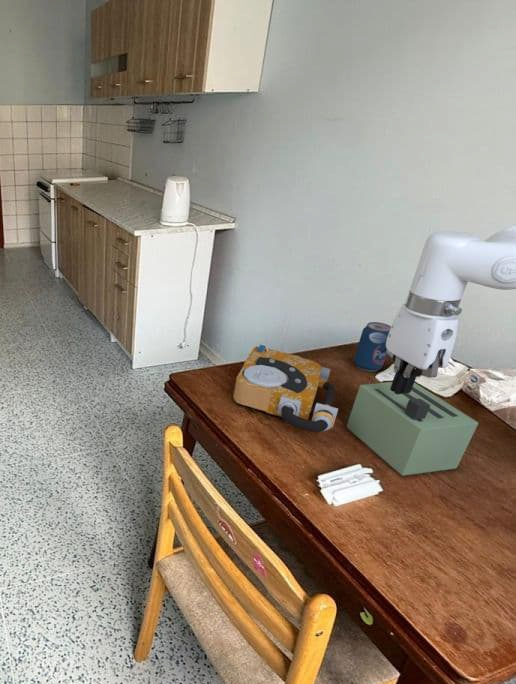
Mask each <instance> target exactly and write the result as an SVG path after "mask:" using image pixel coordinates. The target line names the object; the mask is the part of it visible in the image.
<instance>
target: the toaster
mask: <svg viewBox="0 0 516 684" xmlns="http://www.w3.org/2000/svg"><path fill="white" fill-rule="evenodd" d="M392 382H393V381H387V382H386V381H385V382H375V383H368V384H367V383H366V384H360V385H359V386H358V387H359V388H358V390H357V392H356V393H357V394H356V396H355V399H354V403H353V405H352V409H351V412H350V415H349V418H348V421H347V424H346V429H348V430H349V432H351V433H352V434H353V435H354V436H356V437H357V438H358V439H359V440H360V441H362V442H363V443H364V444H365V445H366V446H367V447H368V448H369V449H371V450H372V451H373V452H374V453H375V454H376V455H378V457H380V458H381V459H382V460H384V462H386V464H388V466H390V467H391V468H393V469H394V471H396V472H397V473H398V474H399V475H401V476H410V475H417V474H418V475H419V474H426V473H432V472H433V473H434V472H441V471H447V470H455V469H458V466H459V464H460V462H461V460H462V458H463V456H464V454H465V452H466V450H467V448H468V446H469V444H470V442H471V439H472V437H473V436H474V433H475V432H476V430H477V428H478V426H479V422H478V421H477V420H475V419H474V418H472V417H471V416H469V415H467V414H465V413H464V412H462V411H461V410H459V409H458V408H456V407H454V406H453V405H451V404H450V403H448V402H446V401H445V400H443V399H442V398H440V397H438V396H437V395H435V394H434V393H432V392H431V391H429V390H427V389H426V388H424V387H422V386H421V385H419V384H418V383H416V382H414V385H413V387H412V390H411V392H410V393H405V394H395V393H394V392H393V391H391V390H390V388H391V385H392ZM411 399H422V400H423V401H425V402H426V403H428V404H429V405H430V408H429V410H428V412H427V415H426V417H425V418H424V419H415V420H414V419H412V418H411V417H410V416H408V415H407V414H405V413H404V412H405V409H406V406H407V404H408V401H409V400H411Z"/></svg>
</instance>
